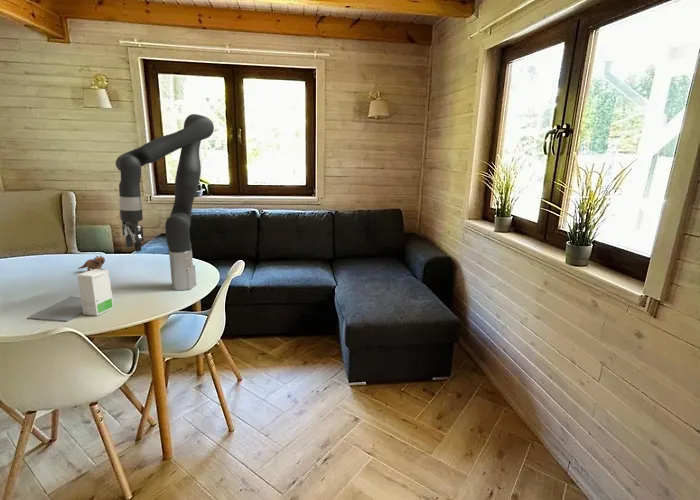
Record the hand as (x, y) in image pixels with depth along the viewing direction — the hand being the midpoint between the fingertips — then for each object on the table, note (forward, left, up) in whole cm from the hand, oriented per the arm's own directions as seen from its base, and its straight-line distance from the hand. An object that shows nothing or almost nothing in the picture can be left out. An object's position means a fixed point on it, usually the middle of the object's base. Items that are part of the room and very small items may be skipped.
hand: (133, 248), depth 151 cm
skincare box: (+9, +12, -22) cm, 26 cm away
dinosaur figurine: (+40, -28, -22) cm, 54 cm away
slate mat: (+21, +12, -22) cm, 32 cm away
